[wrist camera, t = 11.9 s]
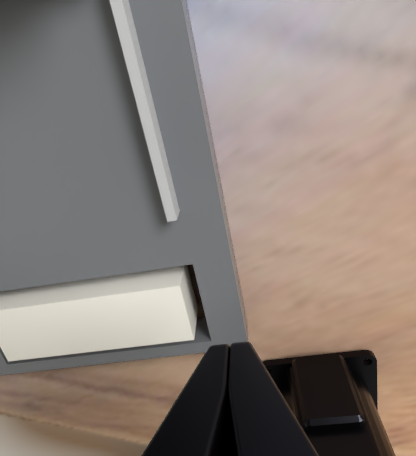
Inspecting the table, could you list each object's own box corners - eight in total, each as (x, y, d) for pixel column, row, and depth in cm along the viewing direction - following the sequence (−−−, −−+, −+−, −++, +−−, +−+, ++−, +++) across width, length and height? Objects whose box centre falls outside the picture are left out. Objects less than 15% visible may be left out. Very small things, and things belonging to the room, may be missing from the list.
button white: (198, 308, 21) (194, 339, 19) (30, 329, 22) (8, 361, 20) (185, 258, 20) (179, 285, 17) (8, 283, 21) (-19, 312, 19)
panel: (247, 322, 21) (249, 362, 19) (2, 351, 23) (-29, 391, 21) (107, -415, 11) (66, -573, 8) (-325, -249, 13) (-476, -330, 10)
